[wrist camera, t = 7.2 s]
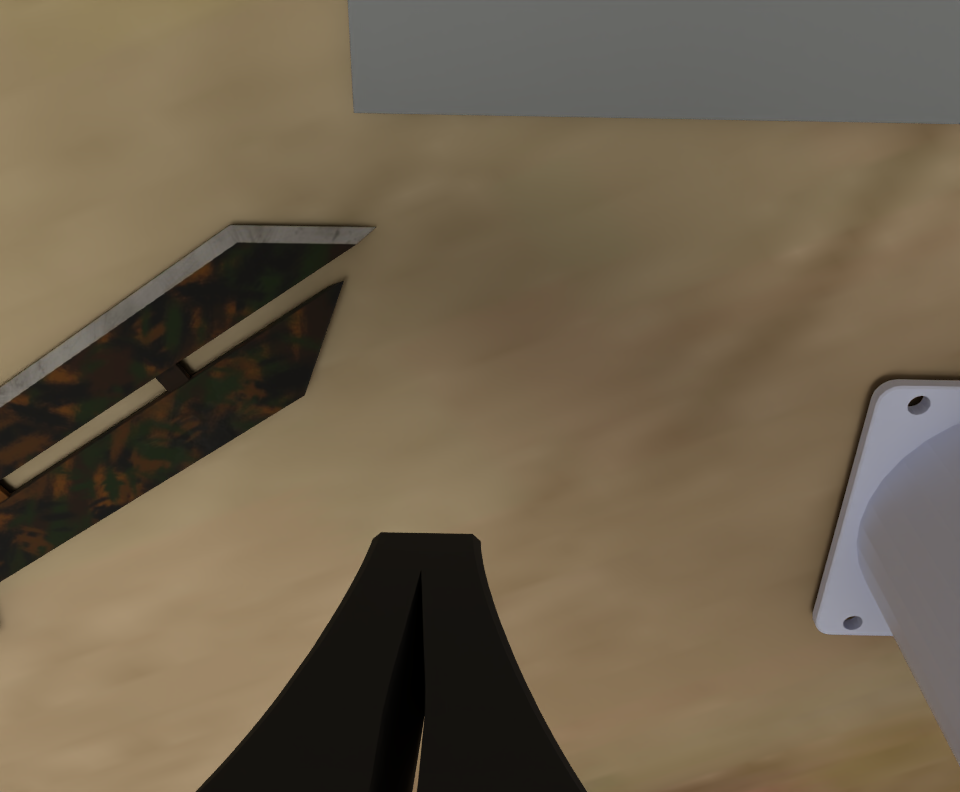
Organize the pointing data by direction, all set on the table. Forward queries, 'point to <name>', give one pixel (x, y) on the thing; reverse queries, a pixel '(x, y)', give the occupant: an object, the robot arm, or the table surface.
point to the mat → (660, 59)
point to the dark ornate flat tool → (162, 380)
